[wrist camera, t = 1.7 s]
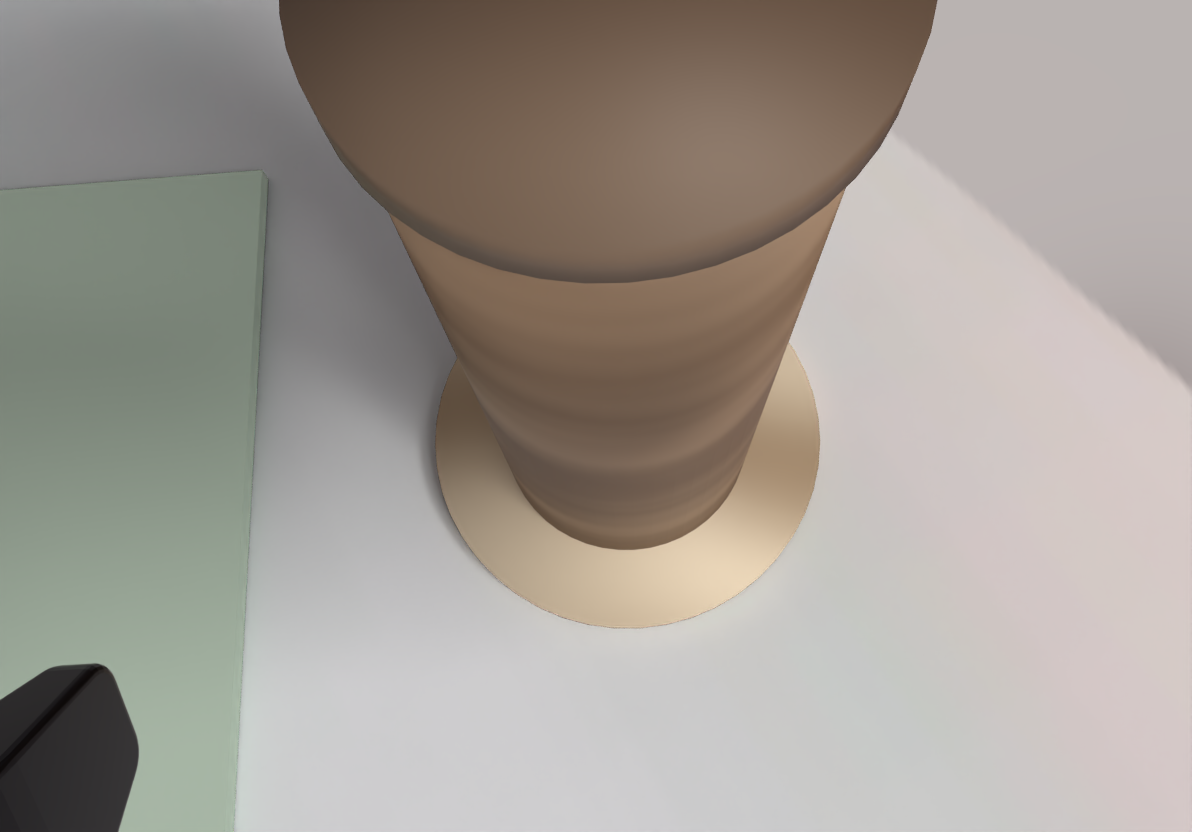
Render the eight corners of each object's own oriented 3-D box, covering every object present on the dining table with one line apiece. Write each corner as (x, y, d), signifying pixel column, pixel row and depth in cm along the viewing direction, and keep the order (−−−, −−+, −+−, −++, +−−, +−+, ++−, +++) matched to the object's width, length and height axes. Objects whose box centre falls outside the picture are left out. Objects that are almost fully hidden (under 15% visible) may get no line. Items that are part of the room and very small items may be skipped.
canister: (770, 550, 19) (997, 217, 7) (501, 568, 20) (263, 273, 7) (741, 303, 21) (883, -309, 9) (493, 322, 21) (290, -258, 9)
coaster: (841, 614, 19) (845, 612, 19) (440, 641, 20) (436, 639, 19) (791, 254, 22) (794, 245, 22) (437, 280, 22) (433, 272, 22)
